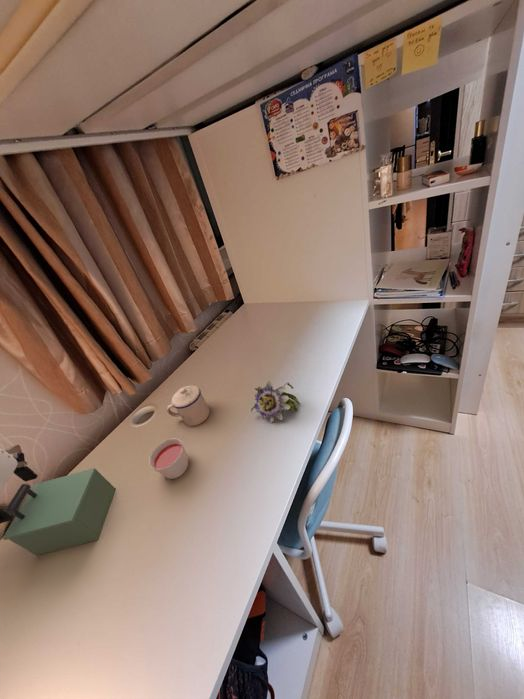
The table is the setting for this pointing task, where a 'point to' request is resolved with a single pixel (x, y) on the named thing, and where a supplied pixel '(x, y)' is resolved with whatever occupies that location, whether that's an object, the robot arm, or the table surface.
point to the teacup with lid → (189, 405)
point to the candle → (169, 458)
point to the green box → (82, 527)
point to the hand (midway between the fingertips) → (19, 498)
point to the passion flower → (273, 401)
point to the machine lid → (48, 503)
